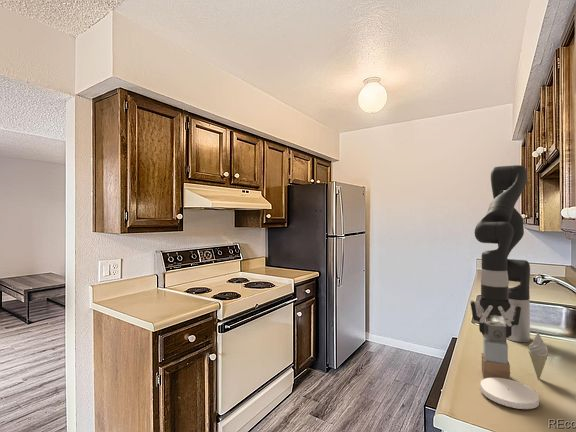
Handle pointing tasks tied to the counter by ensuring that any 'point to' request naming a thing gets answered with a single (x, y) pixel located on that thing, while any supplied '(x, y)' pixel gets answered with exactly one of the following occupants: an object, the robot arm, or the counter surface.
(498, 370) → the tower base
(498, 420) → the counter surface
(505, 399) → the plastic lid
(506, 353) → the tower top
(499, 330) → the dice cube
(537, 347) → the ice cream cone
